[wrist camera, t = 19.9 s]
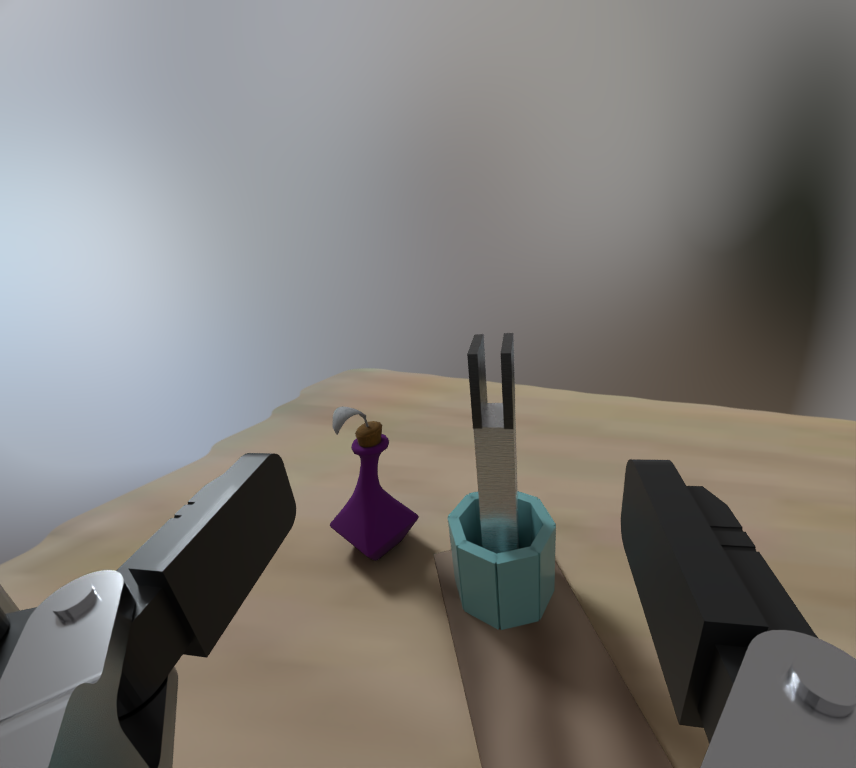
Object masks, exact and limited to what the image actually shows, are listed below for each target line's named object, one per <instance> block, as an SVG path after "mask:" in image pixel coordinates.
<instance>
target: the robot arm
mask: <svg viewBox="0 0 856 768" xmlns="http://www.w3.org/2000/svg"><path fill="white" fill-rule="evenodd" d="M295 516H296V503H295V499H294V496H293V493H292V490H291V486H290V483H289V480H288V476H287V473H286V470H285V467H284V463H283V461H282V459H281V457H280V456H279V455H278V454H266V453H247V454H245V455H243V456H242V457H241V458H240V459H239V460H238V461H237V462H236V463H235V464H234V465H233V466H232V467H230V468H229V469H228V470H227V471H226V472H225V473H224V474H223V475H221V476H220V477H218V478H216V479H215V480H213V481H212V482H210V483H208V484H207V485H205V486H204V487H203V488H202V489H201V490H200V491H199V492H198V493H197V494H196V495H194V496H193V497H192V498H191V499H190V500H189V501H188V505H184V506H183V507H182V508H181V509H180V510H179V511H178V512H177V513H176V514H175V516H174V518H171V519H170V520H168V521H167V522H166V523H165V524H164V525H163V526H162V527H161V528H160V529H159V530H158V531H157V532H156V533H155V534H154V535H153V536H152V537H151V538H150V539H149V540H148V541H147V542H146V543H145V544H144V545H142V546H141V547H140V548H139V549H138V550H137V551H136V552H135V553H134V554H133V555H132V556H131V557H130V558H129V559H128V560H127V561H126V562H125V563H124V564H123V565H122V566H121V567H120V568H119V569H117V570H116V571H113V570H103V571H97V572H93V573H90V574H87V575H85V576H82V577H80V578H78V579H76V580H74V581H72V582H70V583H68V584H66V585H65V586H63V587H61V588H60V589H58V590H57V591H55V592H54V593H53V594H52V595H50V596H49V597H48V598H47V599H45V600H44V601H43V602H42V603H41V604H40V605H39V606H38V607H36V608H31V609H26V610H21V611H20V610H19V608H18V607H17V606H16V605H15V603H14V602H13V601H12V599H11V598H10V597H9V595H8V594H7V593H6V591H5V590H4V589H3V587H2V586H1V585H0V768H172V765H173V750H174V735H175V720H176V706H177V691H178V673H177V670H176V668H175V667H174V666H175V664H176V663H177V662H178V660H179V659H180V657H181V656H182V655H183V654H185V655H192V656H199V657H208V655H209V654H210V652H211V651H212V649H213V648H214V646H215V645H216V643H217V642H218V640H219V638H220V637H221V635H222V634H223V632H224V631H225V629H226V628H227V626H228V625H229V623H230V622H231V620H232V619H233V617H234V615H235V614H236V612H237V611H238V609H239V608H240V606H241V605H242V603H243V602H244V600H245V599H246V597H247V596H248V594H249V592H250V591H251V589H252V588H253V586H254V585H255V583H256V582H257V580H258V579H259V577H260V576H261V574H262V573H263V571H264V570H265V568H266V566H267V565H268V563H269V562H270V560H271V559H272V557H273V556H274V554H275V553H276V551H277V550H278V548H279V547H280V545H281V543H282V542H283V540H284V539H285V537H286V536H287V534H288V533H289V531H290V530H291V528H292V526H293V524H294V520H295ZM621 534H622V541H623V545H624V549H625V553H626V556H627V559H628V562H629V565H630V569H631V572H632V575H633V578H634V581H635V585H636V588H637V591H638V594H639V597H640V601H641V604H642V607H643V610H644V613H645V617H646V620H647V623H648V626H649V630H650V633H651V636H652V639H653V642H654V646H655V649H656V652H657V655H658V658H659V662H660V665H661V668H662V671H663V674H664V678H665V681H666V684H667V687H668V690H669V694H670V697H671V700H672V703H673V707H674V710H675V713H676V716H677V719H678V723H679V725H686V726H693V727H701V728H704V730H705V732H706V735H707V738H708V741H709V744H710V745H709V747H708V750H707V752H706V755H705V757H704V760H703V762H702V765H701V767H700V768H856V659H855V658H853V657H852V656H850V655H849V654H847V653H846V652H844V651H842V650H841V649H839V648H837V647H835V646H833V645H832V644H830V643H827V642H825V641H823V640H821V639H819V638H818V637H817V636H816V635H815V633H814V632H813V630H812V629H811V627H810V626H809V624H808V623H807V622H806V620H805V619H804V617H803V616H802V614H801V613H800V611H799V610H798V608H797V607H796V605H795V604H794V602H793V601H792V600H791V598H790V597H789V595H788V594H787V592H786V591H785V589H784V588H783V586H782V585H781V583H780V582H779V580H778V579H777V578H776V576H775V575H774V573H773V572H772V570H771V569H770V567H769V566H768V564H767V563H766V561H765V560H764V558H763V557H762V555H761V554H760V553H759V552H756V549H755V545H754V544H753V542H752V541H751V539H750V538H749V536H748V535H747V533H746V532H743V530H742V526H741V525H740V523H739V522H738V520H737V519H736V517H735V516H734V514H733V513H732V511H731V510H730V508H729V507H728V506H727V505H726V504H725V503H724V502H722V501H721V500H720V499H719V498H717V497H716V496H715V495H713V494H712V493H711V492H709V491H708V490H707V489H705V488H704V487H703V486H686V485H685V483H684V481H683V480H682V478H681V476H680V474H679V473H678V471H677V469H676V468H675V466H674V464H673V463H672V462H671V461H670V460H628V462H627V466H626V473H625V482H624V492H623V502H622V511H621Z"/></svg>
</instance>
